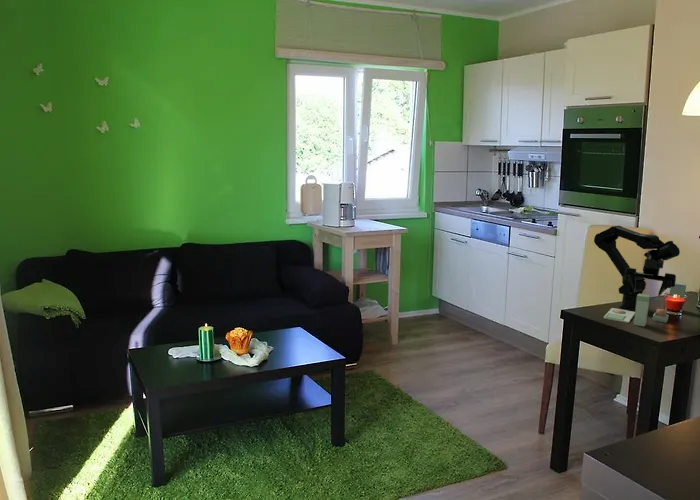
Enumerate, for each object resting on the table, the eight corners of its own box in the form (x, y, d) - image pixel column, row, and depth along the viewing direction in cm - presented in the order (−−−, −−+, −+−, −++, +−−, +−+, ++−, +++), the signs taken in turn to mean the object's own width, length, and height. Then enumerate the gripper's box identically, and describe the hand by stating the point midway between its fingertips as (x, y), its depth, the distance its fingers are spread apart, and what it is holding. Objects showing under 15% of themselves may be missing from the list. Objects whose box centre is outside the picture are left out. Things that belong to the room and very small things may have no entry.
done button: (656, 312, 255) (657, 308, 255) (666, 314, 253) (667, 309, 253) (655, 314, 252) (656, 310, 252) (665, 316, 250) (665, 311, 250)
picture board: (611, 309, 267) (611, 307, 267) (635, 313, 262) (635, 311, 262) (603, 318, 252) (603, 316, 252) (628, 323, 247) (628, 321, 247)
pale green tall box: (635, 322, 249) (639, 293, 247) (645, 324, 247) (649, 295, 245) (633, 324, 246) (637, 295, 244) (644, 326, 244) (648, 297, 242)
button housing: (654, 317, 257) (654, 312, 256) (667, 320, 254) (668, 314, 254) (652, 320, 253) (653, 315, 252) (666, 323, 250) (667, 317, 249)
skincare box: (666, 310, 269) (670, 283, 267) (665, 307, 273) (669, 281, 271) (682, 312, 267) (686, 285, 264) (681, 309, 271) (685, 282, 269)
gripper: (628, 248, 255) (620, 279, 248) (679, 254, 245) (672, 287, 238) (629, 263, 263) (621, 294, 256) (678, 270, 253) (671, 302, 246)
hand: (646, 294), depth 249 cm, fingers open, 9 cm apart
